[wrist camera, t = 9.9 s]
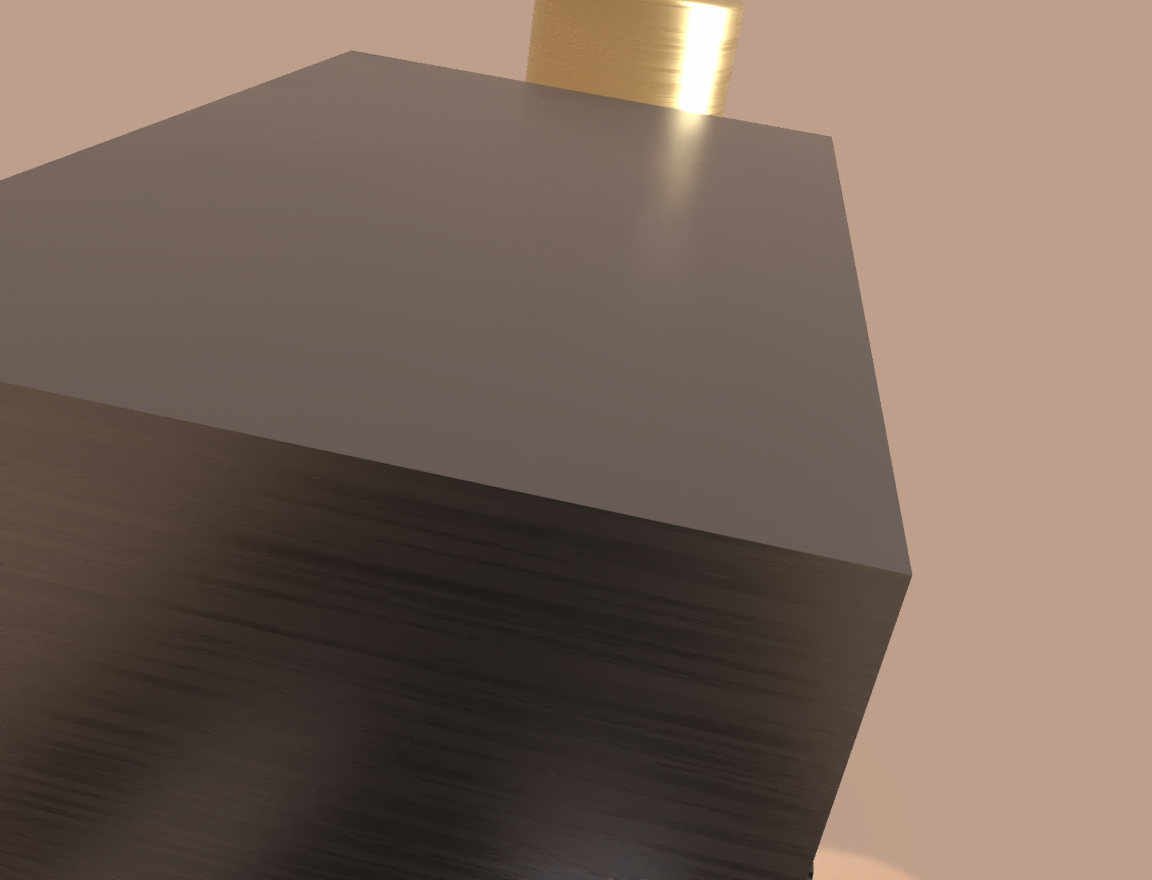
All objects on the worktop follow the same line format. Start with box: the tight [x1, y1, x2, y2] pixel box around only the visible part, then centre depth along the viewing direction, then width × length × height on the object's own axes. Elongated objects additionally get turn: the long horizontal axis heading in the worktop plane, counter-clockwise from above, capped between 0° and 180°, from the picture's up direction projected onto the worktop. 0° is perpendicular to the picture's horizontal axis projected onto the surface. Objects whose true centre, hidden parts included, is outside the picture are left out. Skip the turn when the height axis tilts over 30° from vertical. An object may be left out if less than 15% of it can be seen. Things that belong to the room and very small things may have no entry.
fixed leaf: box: [526, 0, 745, 117], centre depth 19 cm, size 2×8×18 cm, turn 170°
